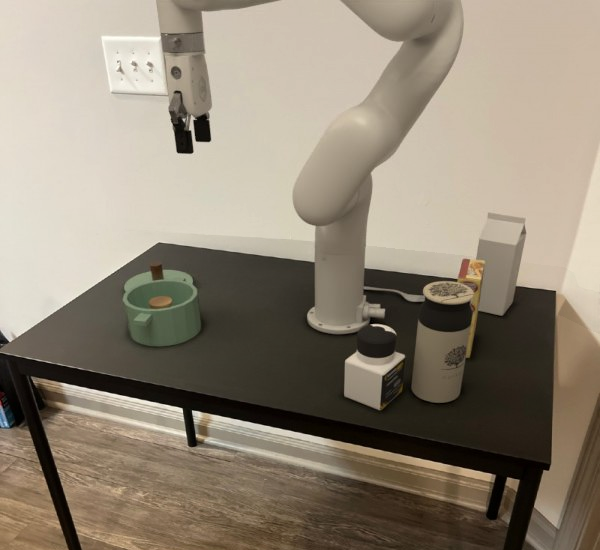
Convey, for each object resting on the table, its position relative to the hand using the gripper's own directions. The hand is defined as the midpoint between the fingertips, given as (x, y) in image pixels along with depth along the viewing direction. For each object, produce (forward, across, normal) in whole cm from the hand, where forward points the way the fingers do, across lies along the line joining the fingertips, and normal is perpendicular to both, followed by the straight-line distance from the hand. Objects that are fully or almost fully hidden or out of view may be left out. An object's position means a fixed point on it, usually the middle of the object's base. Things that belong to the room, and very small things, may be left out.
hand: (194, 147), depth 117 cm
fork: (+31, +6, -38) cm, 49 cm away
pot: (+30, -18, +3) cm, 35 cm away
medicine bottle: (+31, -33, -40) cm, 60 cm away
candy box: (+31, -14, -54) cm, 64 cm away
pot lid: (+30, 0, +12) cm, 32 cm away
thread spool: (+30, -18, +3) cm, 35 cm away
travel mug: (+31, -30, -50) cm, 66 cm away
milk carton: (+31, +4, -60) cm, 67 cm away
